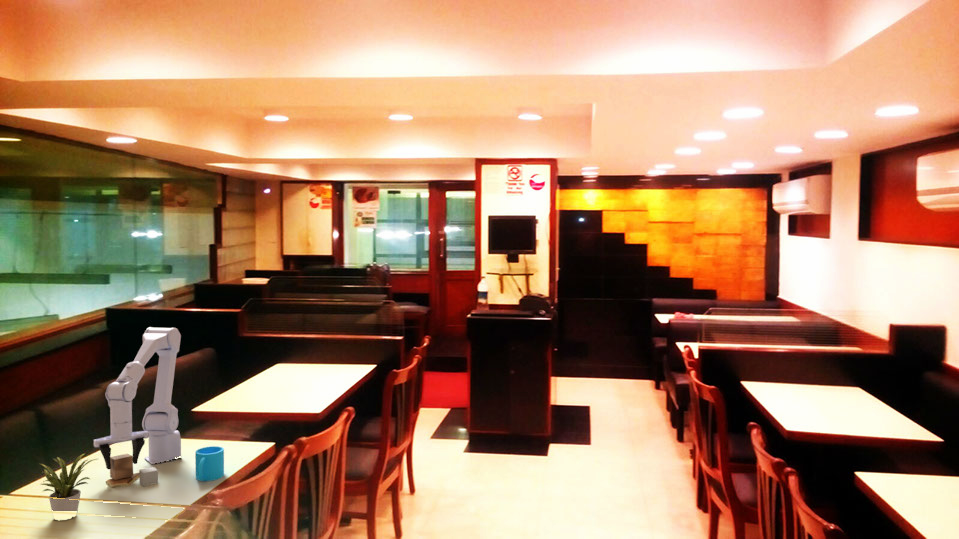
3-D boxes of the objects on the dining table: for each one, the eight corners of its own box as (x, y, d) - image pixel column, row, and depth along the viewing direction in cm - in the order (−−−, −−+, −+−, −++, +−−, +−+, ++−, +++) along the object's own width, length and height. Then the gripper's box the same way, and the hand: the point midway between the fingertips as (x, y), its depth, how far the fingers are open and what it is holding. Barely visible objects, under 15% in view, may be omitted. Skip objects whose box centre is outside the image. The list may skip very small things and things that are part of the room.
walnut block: (128, 473, 202) (127, 453, 202) (133, 475, 199) (132, 455, 199) (110, 477, 199) (109, 457, 199) (115, 479, 195) (114, 459, 195)
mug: (202, 471, 207) (201, 446, 207) (227, 471, 207) (227, 446, 207) (185, 485, 195) (185, 458, 195) (213, 485, 195) (212, 458, 195)
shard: (143, 475, 205) (143, 470, 205) (152, 482, 199) (152, 476, 199) (105, 484, 197) (105, 478, 197) (112, 491, 192) (112, 485, 192)
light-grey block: (153, 479, 200) (153, 466, 200) (157, 483, 197) (157, 470, 197) (139, 482, 197) (139, 469, 197) (143, 486, 194) (143, 473, 194)
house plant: (103, 501, 182) (102, 443, 182) (101, 520, 170) (100, 458, 170) (42, 510, 176) (40, 450, 175) (35, 530, 163) (34, 466, 163)
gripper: (97, 428, 190) (98, 474, 190) (151, 419, 200) (151, 463, 200) (91, 423, 195) (92, 468, 196) (144, 415, 205) (144, 458, 205)
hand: (121, 465), depth 198 cm, fingers open, 7 cm apart
